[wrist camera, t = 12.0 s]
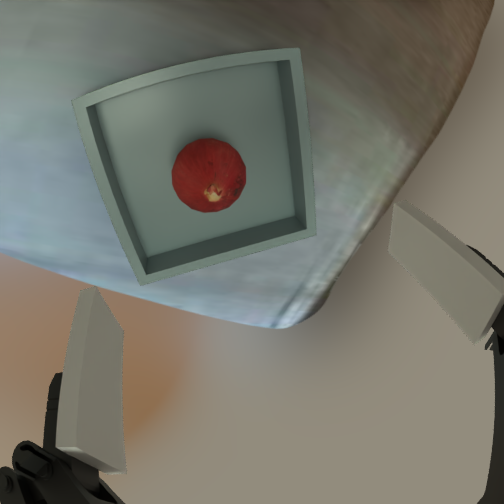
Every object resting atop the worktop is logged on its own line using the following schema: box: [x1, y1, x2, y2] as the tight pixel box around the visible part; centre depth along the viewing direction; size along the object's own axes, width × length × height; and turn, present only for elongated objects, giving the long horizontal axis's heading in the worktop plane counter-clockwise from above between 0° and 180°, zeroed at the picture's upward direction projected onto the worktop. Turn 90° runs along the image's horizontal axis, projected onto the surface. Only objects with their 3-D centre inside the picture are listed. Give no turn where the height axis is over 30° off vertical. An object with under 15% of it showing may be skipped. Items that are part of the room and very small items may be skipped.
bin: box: [71, 48, 316, 286], centre depth 25 cm, size 18×18×4 cm
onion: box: [171, 138, 246, 213], centre depth 22 cm, size 6×6×8 cm
